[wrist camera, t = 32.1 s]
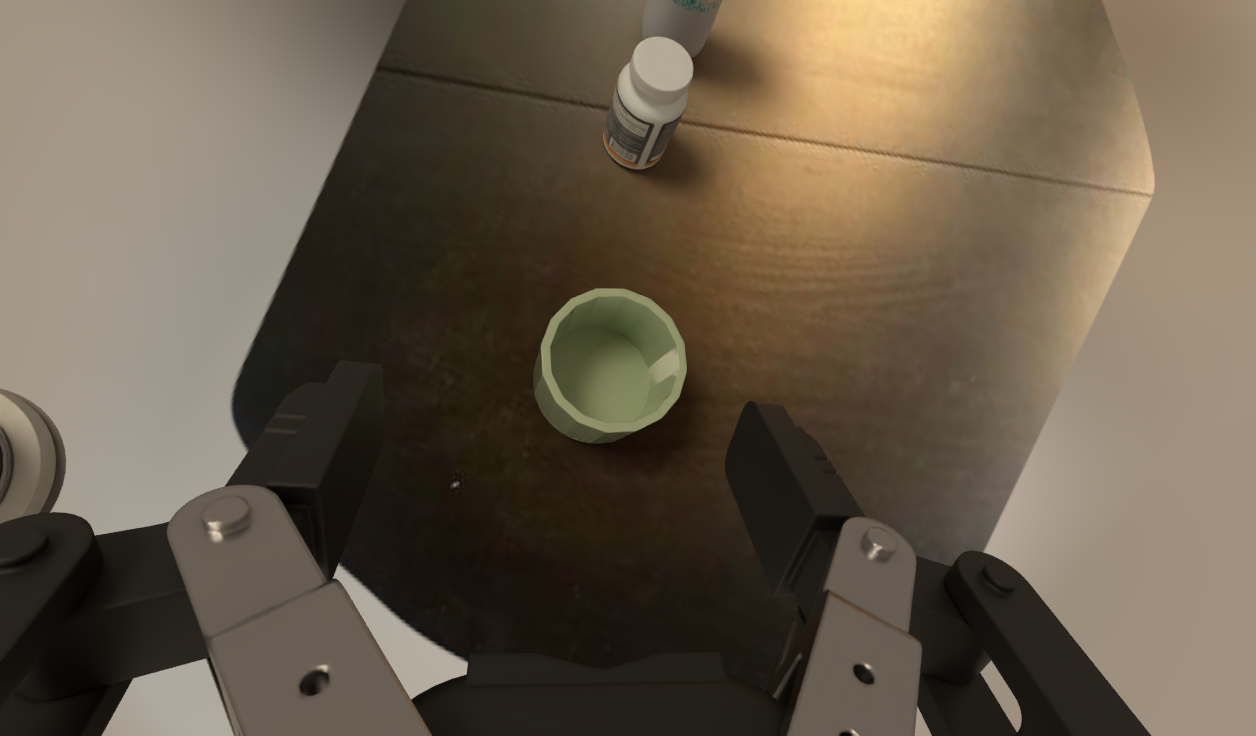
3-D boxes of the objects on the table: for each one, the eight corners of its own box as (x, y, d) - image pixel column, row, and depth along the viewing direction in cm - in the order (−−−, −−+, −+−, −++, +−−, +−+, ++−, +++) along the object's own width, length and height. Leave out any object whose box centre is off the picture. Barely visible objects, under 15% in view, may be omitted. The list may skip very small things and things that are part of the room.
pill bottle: (651, 112, 51) (686, 25, 42) (671, 167, 50) (711, 91, 41) (593, 120, 50) (616, 32, 40) (612, 177, 49) (641, 101, 39)
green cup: (514, 418, 42) (519, 401, 35) (558, 305, 45) (571, 266, 38) (633, 460, 44) (663, 452, 36) (668, 348, 46) (702, 319, 39)
